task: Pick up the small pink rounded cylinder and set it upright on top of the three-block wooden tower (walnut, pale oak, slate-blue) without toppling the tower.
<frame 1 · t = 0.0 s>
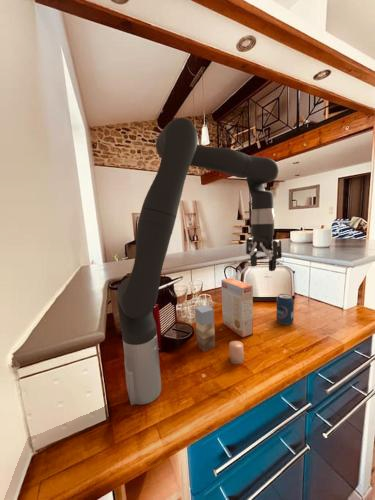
hand: (262, 268, 75), 29 cm above the countertop, fingers open, 8 cm apart
pink rounded cylinder: (236, 359, 72), on the countertop
tower top: (204, 321, 79), point 10 cm above the countertop, touching tower mid
tower mid: (205, 333, 80), point 5 cm above the countertop, touching tower base, tower top
tower base: (206, 346, 81), on the countertop, touching tower mid
soda can: (284, 321, 95), on the countertop
cracker box: (237, 329, 92), on the countertop
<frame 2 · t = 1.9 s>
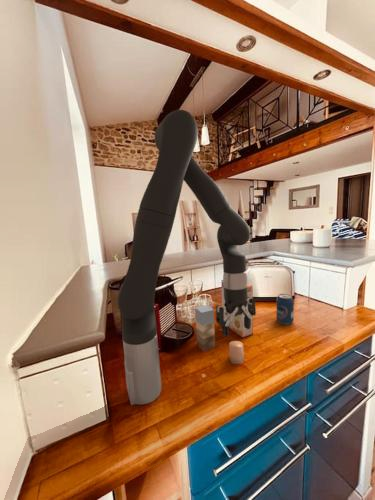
hand: (237, 331, 70), 10 cm above the countertop, fingers open, 8 cm apart
nothing on the countertop moved.
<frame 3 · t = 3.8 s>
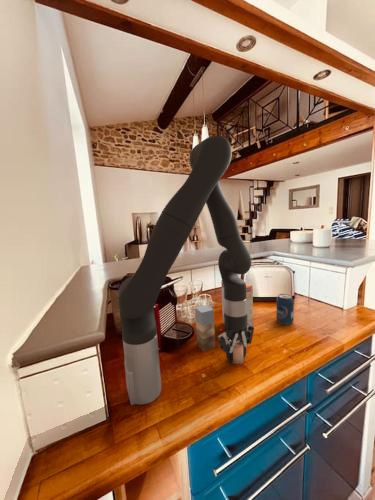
hand: (236, 358, 72), 1 cm above the countertop, fingers closed on pink rounded cylinder, 4 cm apart
pink rounded cylinder: (236, 359, 72), on the countertop, touching gripper
everything else where it was.
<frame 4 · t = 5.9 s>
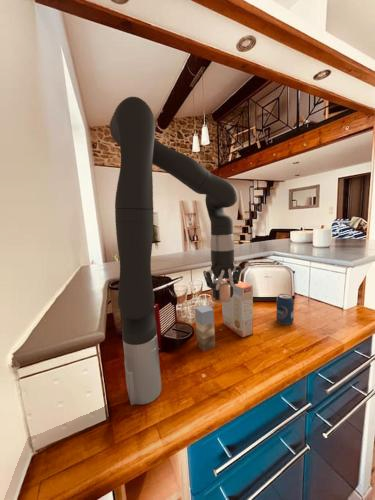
hand: (223, 298, 72), 21 cm above the countertop, fingers closed on pink rounded cylinder, 4 cm apart
pink rounded cylinder: (223, 299, 72), point 20 cm above the countertop, touching gripper
everything else where it was.
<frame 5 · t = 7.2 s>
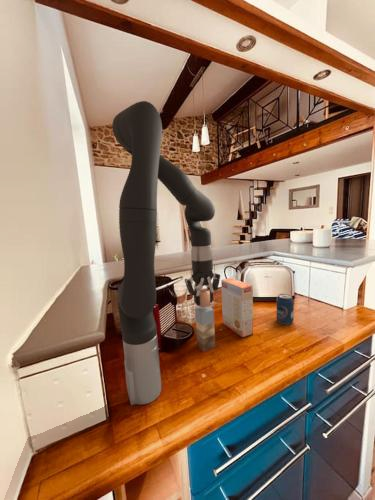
hand: (204, 303, 78), 17 cm above the countertop, fingers closed on pink rounded cylinder, 4 cm apart
pink rounded cylinder: (204, 304, 78), point 17 cm above the countertop, touching gripper
everything else where it was.
when the fingers open (17 cm above the countertop, at t = 8.0 s): pink rounded cylinder drops 1 cm, resting on tower top.
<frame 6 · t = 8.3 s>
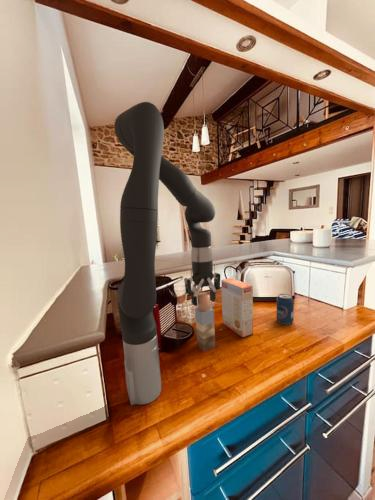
hand: (203, 303, 78), 17 cm above the countertop, fingers open, 6 cm apart
pink rounded cylinder: (204, 308, 78), point 15 cm above the countertop, touching tower top
tower top: (204, 321, 79), point 10 cm above the countertop, touching tower mid, pink rounded cylinder
everything else where it was.
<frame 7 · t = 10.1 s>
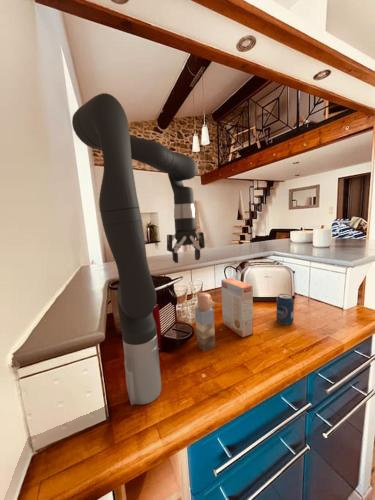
hand: (187, 261, 79), 33 cm above the countertop, fingers open, 8 cm apart
nothing on the countertop moved.
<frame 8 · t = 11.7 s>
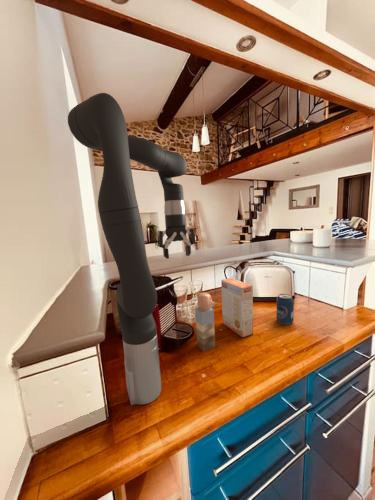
hand: (177, 256, 80), 34 cm above the countertop, fingers open, 8 cm apart
nothing on the countertop moved.
at the end: pink rounded cylinder 0.1 cm off-centre on the tower base, point 15.0 cm above the tower base's base; pink rounded cylinder tilted 0°; tower top tilted 0° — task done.
